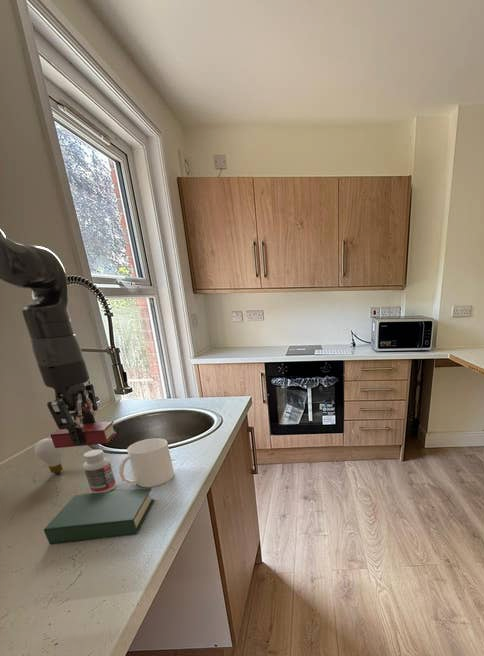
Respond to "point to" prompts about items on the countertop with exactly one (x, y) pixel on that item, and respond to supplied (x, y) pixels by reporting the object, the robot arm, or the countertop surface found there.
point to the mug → (149, 463)
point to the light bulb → (49, 454)
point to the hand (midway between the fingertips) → (86, 438)
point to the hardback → (100, 516)
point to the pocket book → (86, 434)
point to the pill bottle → (98, 472)
